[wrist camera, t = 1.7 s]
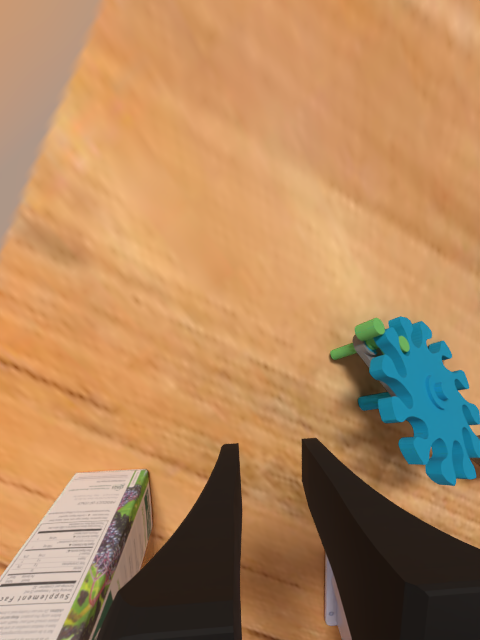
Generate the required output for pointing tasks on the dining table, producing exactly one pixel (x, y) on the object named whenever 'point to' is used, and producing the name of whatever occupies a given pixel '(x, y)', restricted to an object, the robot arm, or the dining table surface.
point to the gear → (419, 396)
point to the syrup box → (77, 558)
